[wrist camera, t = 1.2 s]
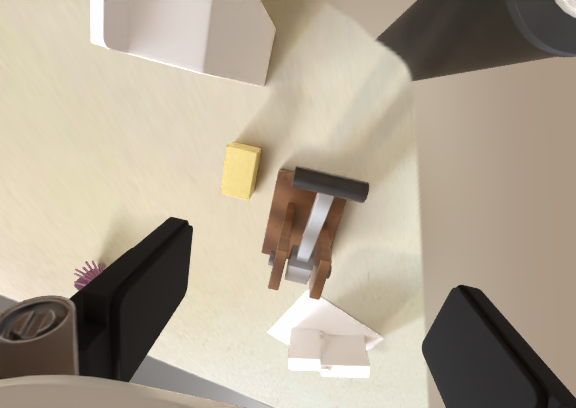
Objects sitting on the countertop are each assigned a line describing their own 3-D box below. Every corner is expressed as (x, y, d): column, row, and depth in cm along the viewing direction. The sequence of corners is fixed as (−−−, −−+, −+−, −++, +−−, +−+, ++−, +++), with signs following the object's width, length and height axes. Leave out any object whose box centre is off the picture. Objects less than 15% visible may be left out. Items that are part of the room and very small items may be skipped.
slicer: (279, 168, 35) (262, 205, 23) (348, 184, 35) (367, 229, 23) (262, 248, 39) (241, 314, 27) (324, 263, 39) (329, 334, 27)
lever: (298, 157, 19) (292, 180, 17) (368, 173, 19) (369, 198, 17) (275, 255, 29) (270, 276, 27) (322, 266, 29) (320, 287, 27)
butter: (233, 141, 34) (226, 145, 31) (261, 148, 34) (257, 152, 31) (227, 186, 36) (220, 193, 33) (253, 192, 36) (248, 200, 33)
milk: (276, 28, 29) (197, -133, 9) (264, 88, 32) (178, 69, 11) (221, 13, 29) (10, -189, 9) (212, 73, 31) (28, 27, 11)
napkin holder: (384, 337, 43) (395, 370, 38) (339, 376, 47) (342, 411, 42) (307, 288, 41) (306, 316, 36) (266, 333, 45) (260, 364, 40)
